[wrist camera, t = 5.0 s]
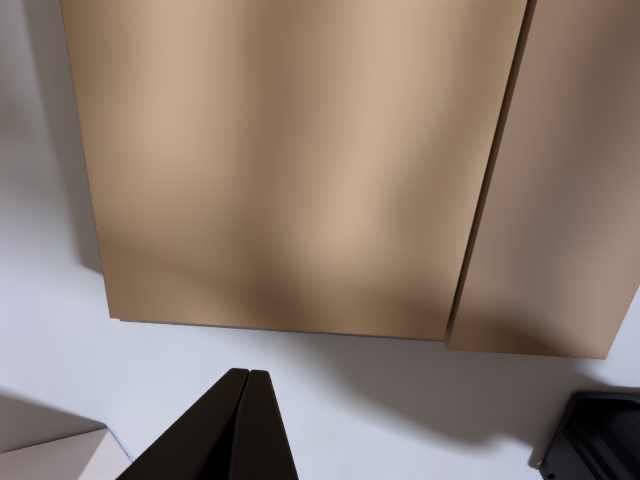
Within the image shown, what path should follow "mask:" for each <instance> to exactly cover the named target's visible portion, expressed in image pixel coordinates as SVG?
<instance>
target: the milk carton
mask: <svg viewBox="0 0 640 480" xmlns="http://www.w3.org/2000/svg"><path fill="white" fill-rule="evenodd" d="M131 464H132V461H131V460H130V459H129V457H128V456H127V454H126V453H125V451H124V450H123V449H122V447H121V446H120V444H119V443H118V442H117V440H116V439H115V437H114V436H113V435H112V433H111V432H110V430H109V429H102V430H97V431H93V432H89V433H85V434H80V435H76V436H72V437H68V438H64V439H60V440H56V441H51V442H47V443H43V444H39V445H35V446H31V447H27V448H22V449H18V450H14V451H10V452H6V453H3V454H0V480H115V479H116V478H117V477H118V476H119V475H120V474H121V473H122V472H123V471H124V470H125V469H126V468H127V467H129V466H130V465H131Z"/></svg>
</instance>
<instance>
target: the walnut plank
mask: <svg viewBox="0 0 640 480" xmlns="http://www.w3.org/2000/svg"><path fill="white" fill-rule="evenodd" d="M639 285H640V0H527V4H526V8H525V12H524V16H523V20H522V24H521V28H520V32H519V36H518V40H517V44H516V48H515V52H514V56H513V60H512V64H511V68H510V72H509V76H508V80H507V84H506V88H505V92H504V97H503V101H502V105H501V109H500V113H499V117H498V121H497V125H496V129H495V133H494V137H493V141H492V145H491V149H490V153H489V157H488V161H487V165H486V169H485V173H484V177H483V181H482V185H481V189H480V193H479V198H478V202H477V206H476V210H475V214H474V218H473V222H472V226H471V230H470V234H469V238H468V242H467V246H466V250H465V254H464V258H463V262H462V266H461V270H460V274H459V278H458V282H457V286H456V290H455V294H454V299H453V303H452V307H451V311H450V315H449V319H448V323H447V327H446V331H445V335H444V339H443V341H444V343H445V345H446V347H447V349H448V350H463V351H479V352H495V353H511V354H527V355H543V356H558V357H574V358H590V359H606V357H607V355H608V352H609V350H610V348H611V346H612V344H613V341H614V339H615V337H616V335H617V333H618V331H619V328H620V326H621V324H622V322H623V320H624V317H625V315H626V313H627V311H628V309H629V307H630V304H631V302H632V300H633V298H634V296H635V293H636V291H637V289H638V287H639Z"/></svg>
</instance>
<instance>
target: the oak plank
mask: <svg viewBox="0 0 640 480" xmlns="http://www.w3.org/2000/svg"><path fill="white" fill-rule="evenodd" d="M60 3H61V9H62V16H63V22H64V28H65V35H66V41H67V47H68V54H69V60H70V66H71V73H72V79H73V86H74V92H75V98H76V105H77V111H78V117H79V124H80V130H81V136H82V143H83V149H84V155H85V162H86V168H87V174H88V181H89V187H90V193H91V200H92V206H93V213H94V219H95V225H96V232H97V238H98V244H99V251H100V257H101V263H102V270H103V276H104V282H105V289H106V295H107V301H108V308H109V314H110V318H118V319H133V320H149V321H164V322H180V323H195V324H211V325H226V326H241V327H257V328H272V329H288V330H303V331H319V332H334V333H349V334H365V335H380V336H396V337H411V338H427V339H442V340H443V339H444V335H445V331H446V327H447V323H448V319H449V315H450V311H451V307H452V303H453V299H454V294H455V290H456V286H457V282H458V278H459V274H460V270H461V266H462V262H463V258H464V254H465V250H466V246H467V242H468V238H469V234H470V230H471V226H472V222H473V218H474V214H475V210H476V206H477V202H478V198H479V193H480V189H481V185H482V181H483V177H484V173H485V169H486V165H487V161H488V157H489V153H490V149H491V145H492V141H493V137H494V133H495V129H496V125H497V121H498V117H499V113H500V109H501V105H502V101H503V97H504V92H505V88H506V84H507V80H508V76H509V72H510V68H511V64H512V60H513V56H514V52H515V48H516V44H517V40H518V36H519V32H520V28H521V24H522V20H523V16H524V12H525V8H526V4H527V0H60Z"/></svg>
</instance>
